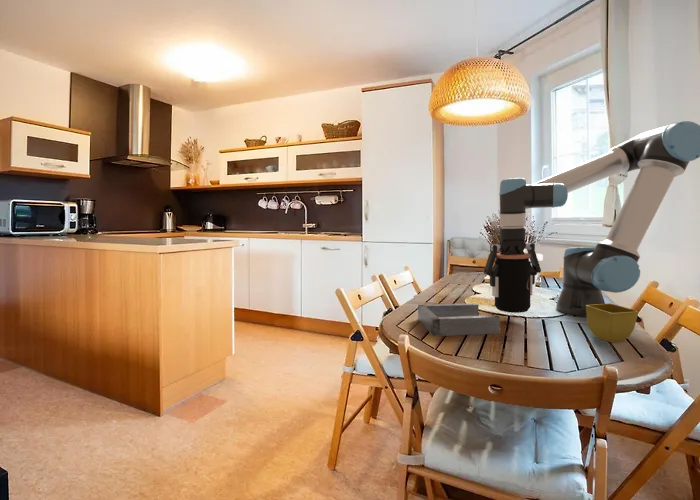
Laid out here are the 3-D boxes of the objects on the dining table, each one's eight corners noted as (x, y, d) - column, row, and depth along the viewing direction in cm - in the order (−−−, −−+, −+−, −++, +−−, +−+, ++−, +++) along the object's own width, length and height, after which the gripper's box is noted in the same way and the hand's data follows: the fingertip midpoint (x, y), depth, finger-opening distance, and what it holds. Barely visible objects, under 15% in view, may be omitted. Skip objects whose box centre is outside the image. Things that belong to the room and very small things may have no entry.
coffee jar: (534, 313, 113) (535, 255, 112) (497, 313, 115) (497, 256, 114) (525, 305, 124) (525, 252, 122) (491, 304, 126) (491, 252, 124)
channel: (475, 317, 125) (476, 303, 124) (499, 333, 108) (499, 317, 107) (418, 319, 123) (418, 304, 123) (432, 336, 107) (433, 319, 106)
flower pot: (637, 343, 99) (639, 310, 98) (610, 346, 97) (612, 313, 96) (608, 333, 107) (610, 303, 106) (583, 335, 106) (584, 304, 105)
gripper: (540, 225, 121) (539, 291, 124) (472, 228, 120) (472, 294, 122) (554, 226, 114) (553, 295, 116) (482, 229, 112) (482, 299, 115)
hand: (512, 295), depth 119 cm, fingers closed on coffee jar, 11 cm apart
